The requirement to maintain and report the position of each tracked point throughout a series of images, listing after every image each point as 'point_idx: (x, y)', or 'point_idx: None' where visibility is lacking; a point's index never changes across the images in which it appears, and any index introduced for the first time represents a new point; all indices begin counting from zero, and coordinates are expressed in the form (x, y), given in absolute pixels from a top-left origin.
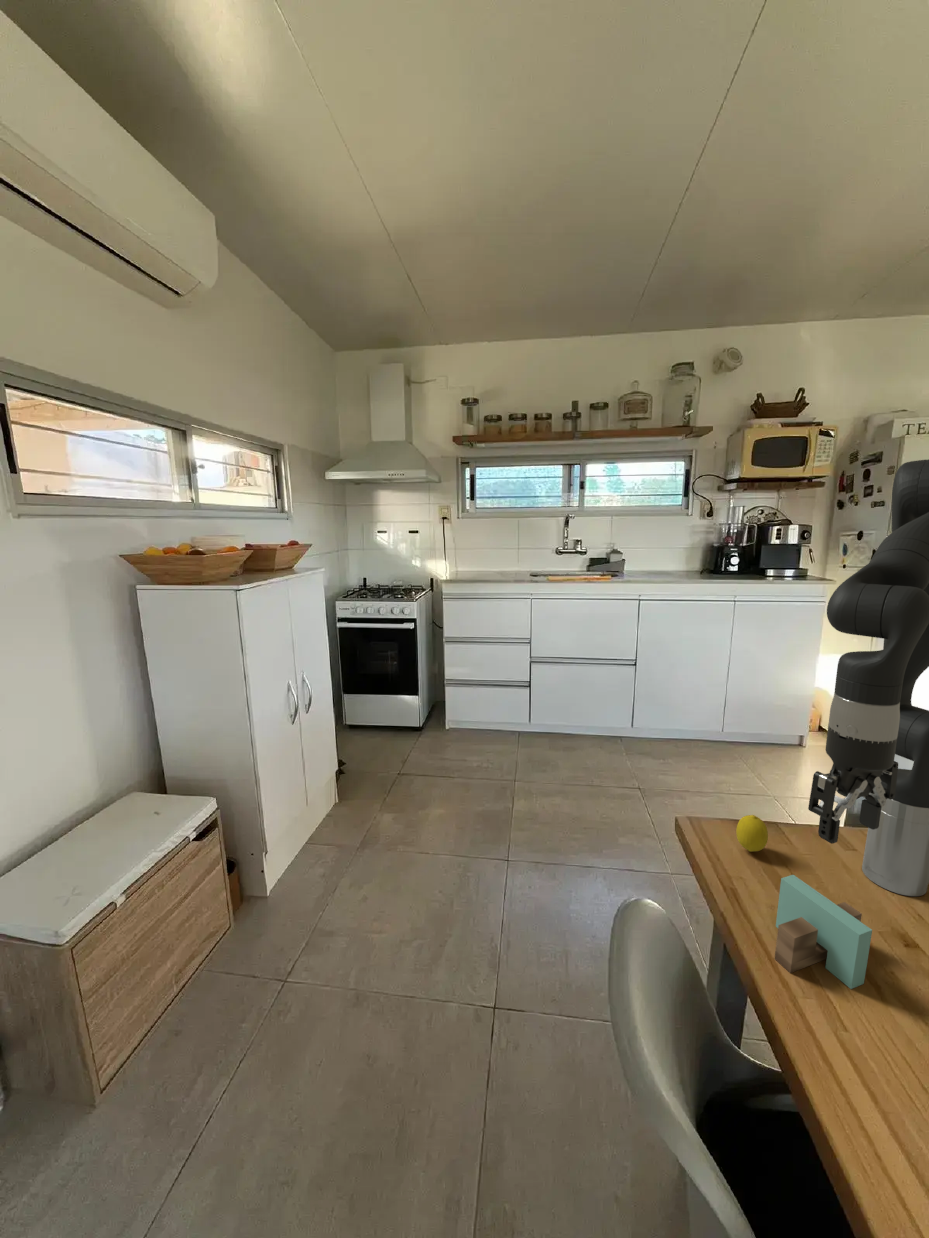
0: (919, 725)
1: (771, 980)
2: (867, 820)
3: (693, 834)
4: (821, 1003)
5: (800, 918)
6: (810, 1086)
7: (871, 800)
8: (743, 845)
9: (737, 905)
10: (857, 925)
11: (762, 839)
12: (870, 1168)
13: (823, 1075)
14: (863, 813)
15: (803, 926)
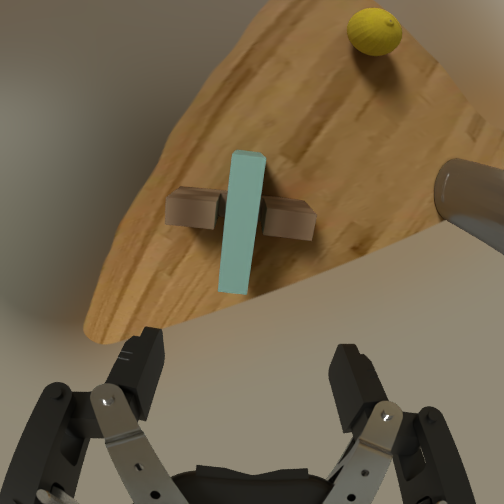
0: None
1: (149, 205)
2: (339, 370)
3: None
4: (175, 247)
5: (210, 203)
6: (99, 285)
7: (358, 429)
8: (347, 33)
9: (223, 98)
10: (235, 281)
11: (371, 50)
12: (98, 325)
13: (115, 286)
14: (347, 373)
15: (198, 216)
